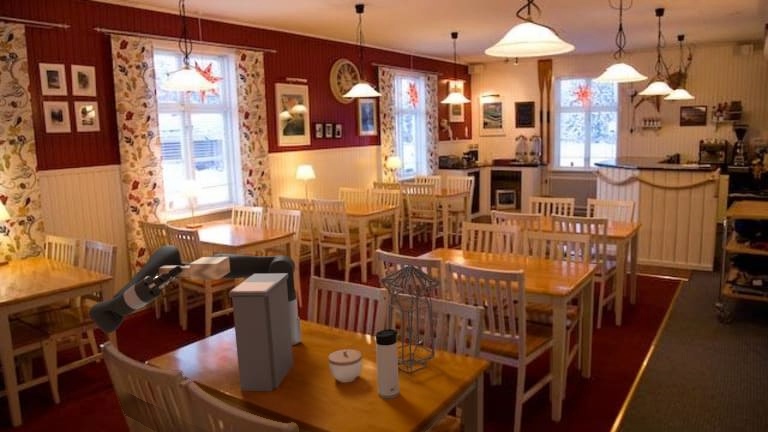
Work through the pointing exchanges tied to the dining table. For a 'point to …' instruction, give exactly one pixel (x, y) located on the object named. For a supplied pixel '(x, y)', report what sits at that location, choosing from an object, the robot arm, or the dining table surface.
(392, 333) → the travel mug
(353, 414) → the dining table surface
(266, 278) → the tall grey pillar box
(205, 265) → the beech mallet
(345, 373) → the lidded jar
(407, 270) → the geometric lantern
